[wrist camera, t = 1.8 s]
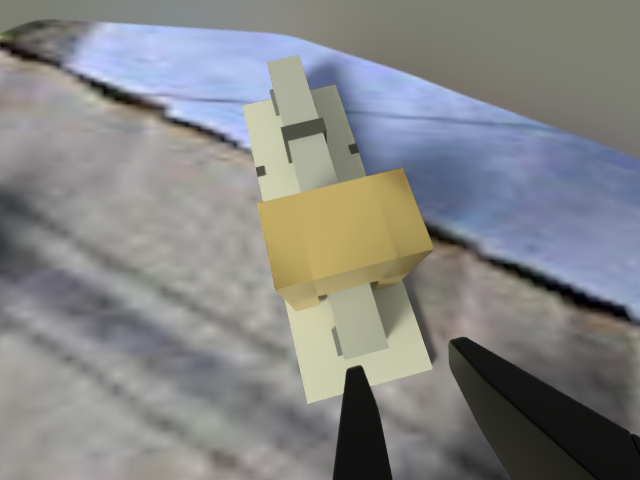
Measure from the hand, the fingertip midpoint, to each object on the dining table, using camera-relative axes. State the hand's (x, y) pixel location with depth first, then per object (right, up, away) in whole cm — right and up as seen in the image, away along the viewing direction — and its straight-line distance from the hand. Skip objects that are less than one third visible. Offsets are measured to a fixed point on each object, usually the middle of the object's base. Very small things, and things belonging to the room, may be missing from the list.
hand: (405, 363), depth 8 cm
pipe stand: (-2, +5, +16) cm, 17 cm away
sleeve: (-1, +1, +14) cm, 14 cm away
